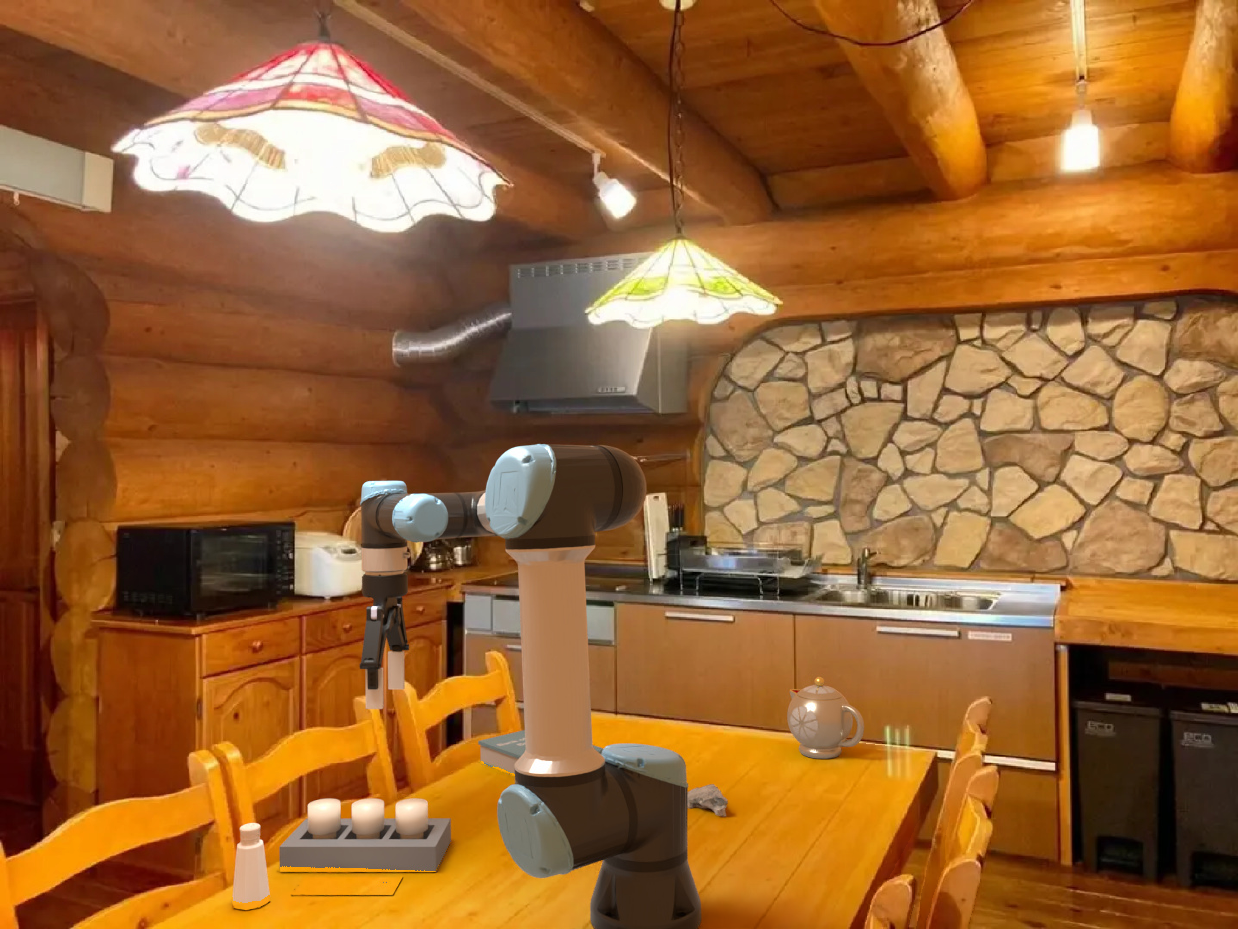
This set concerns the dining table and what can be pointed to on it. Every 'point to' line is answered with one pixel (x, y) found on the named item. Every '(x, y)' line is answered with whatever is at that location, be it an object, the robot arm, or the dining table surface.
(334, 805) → the button
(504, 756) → the book
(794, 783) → the dining table surface
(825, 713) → the teapot
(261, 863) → the salt shaker
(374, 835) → the button mid
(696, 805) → the stone
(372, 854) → the gray compartment tray
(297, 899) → the dining table surface
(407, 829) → the button
